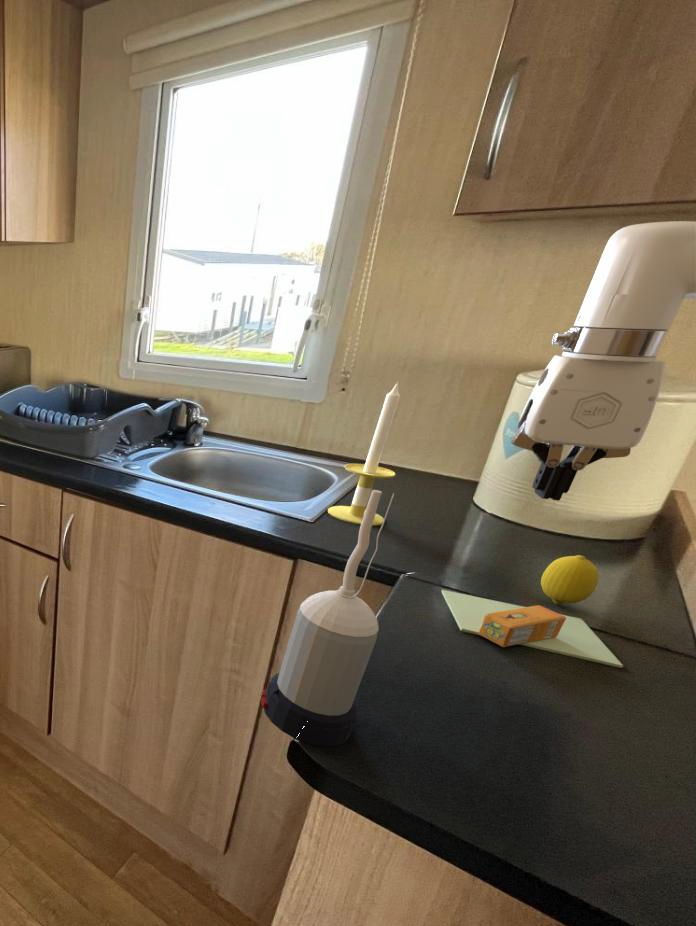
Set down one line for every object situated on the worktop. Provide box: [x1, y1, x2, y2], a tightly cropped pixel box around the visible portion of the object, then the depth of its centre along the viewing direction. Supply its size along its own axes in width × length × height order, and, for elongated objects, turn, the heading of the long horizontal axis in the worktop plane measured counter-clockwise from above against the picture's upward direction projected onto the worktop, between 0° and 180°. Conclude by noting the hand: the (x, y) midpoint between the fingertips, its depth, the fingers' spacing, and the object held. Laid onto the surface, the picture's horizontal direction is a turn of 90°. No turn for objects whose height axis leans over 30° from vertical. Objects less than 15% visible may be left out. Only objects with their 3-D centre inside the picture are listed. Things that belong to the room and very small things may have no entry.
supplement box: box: [478, 604, 566, 648], centre depth 71 cm, size 3×3×10 cm
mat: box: [440, 589, 624, 669], centre depth 75 cm, size 16×12×1 cm
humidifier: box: [260, 489, 395, 748], centre depth 52 cm, size 8×8×25 cm
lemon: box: [540, 554, 599, 606], centre depth 79 cm, size 6×6×8 cm
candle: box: [327, 380, 401, 527], centre depth 106 cm, size 10×10×27 cm
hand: (546, 496), depth 70 cm, fingers closed
